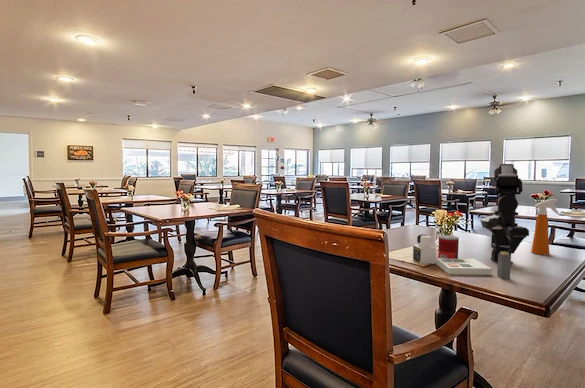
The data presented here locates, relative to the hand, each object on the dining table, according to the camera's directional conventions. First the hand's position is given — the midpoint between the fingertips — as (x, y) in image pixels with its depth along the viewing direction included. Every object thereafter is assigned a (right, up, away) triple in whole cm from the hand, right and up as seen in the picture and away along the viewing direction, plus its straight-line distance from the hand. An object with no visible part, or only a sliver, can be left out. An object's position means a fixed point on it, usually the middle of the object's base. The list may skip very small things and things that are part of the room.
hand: (504, 250), depth 127 cm
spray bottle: (+41, -8, +35) cm, 55 cm away
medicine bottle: (-22, -9, +22) cm, 32 cm away
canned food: (-11, -9, +23) cm, 27 cm away
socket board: (-10, -10, +11) cm, 18 cm away
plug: (0, -11, +1) cm, 11 cm away
